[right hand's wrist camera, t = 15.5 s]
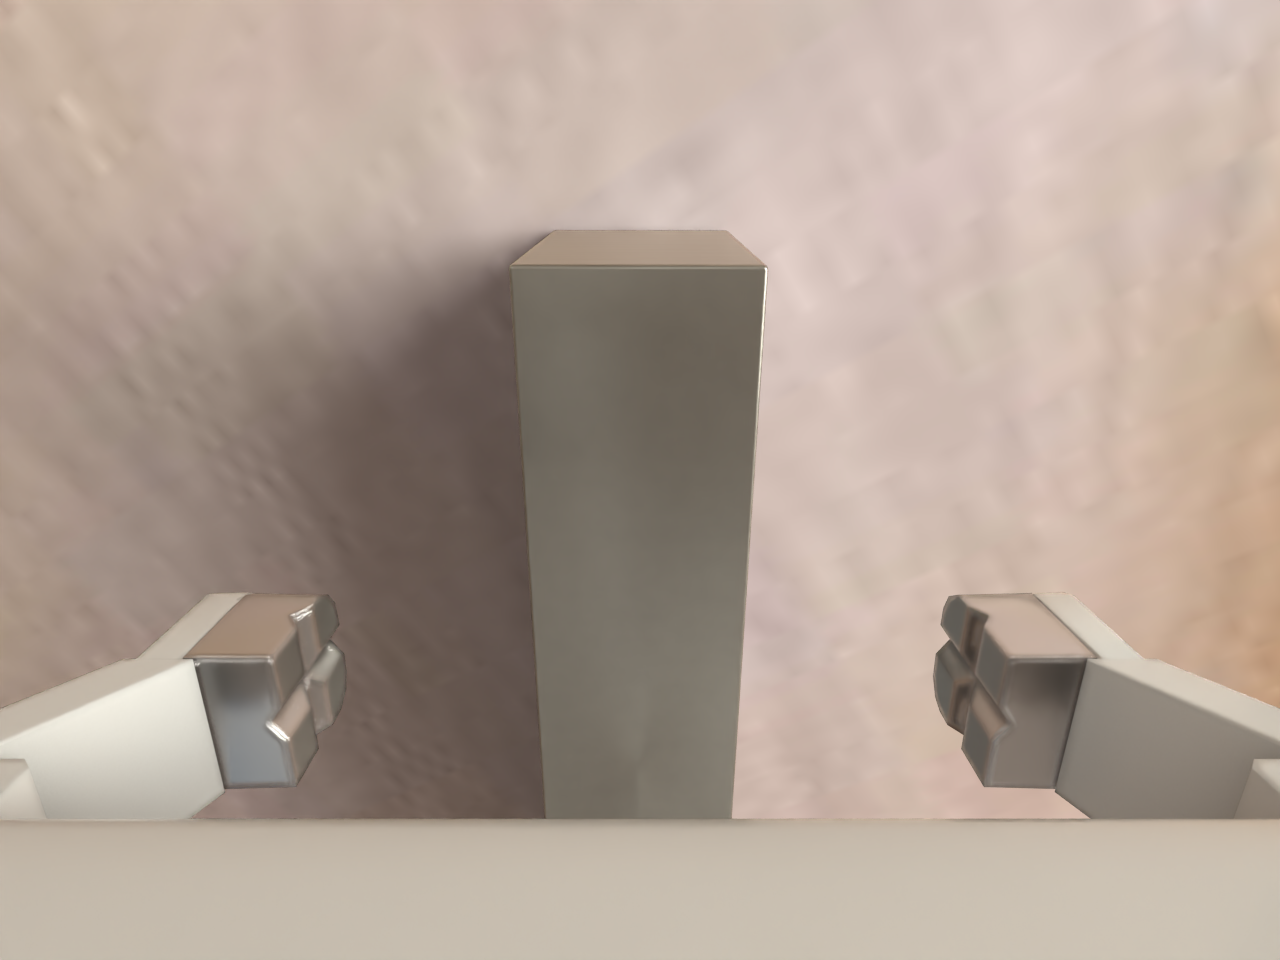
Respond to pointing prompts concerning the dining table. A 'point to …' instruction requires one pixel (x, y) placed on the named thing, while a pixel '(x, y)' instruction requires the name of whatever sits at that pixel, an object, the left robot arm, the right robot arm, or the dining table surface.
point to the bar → (638, 511)
